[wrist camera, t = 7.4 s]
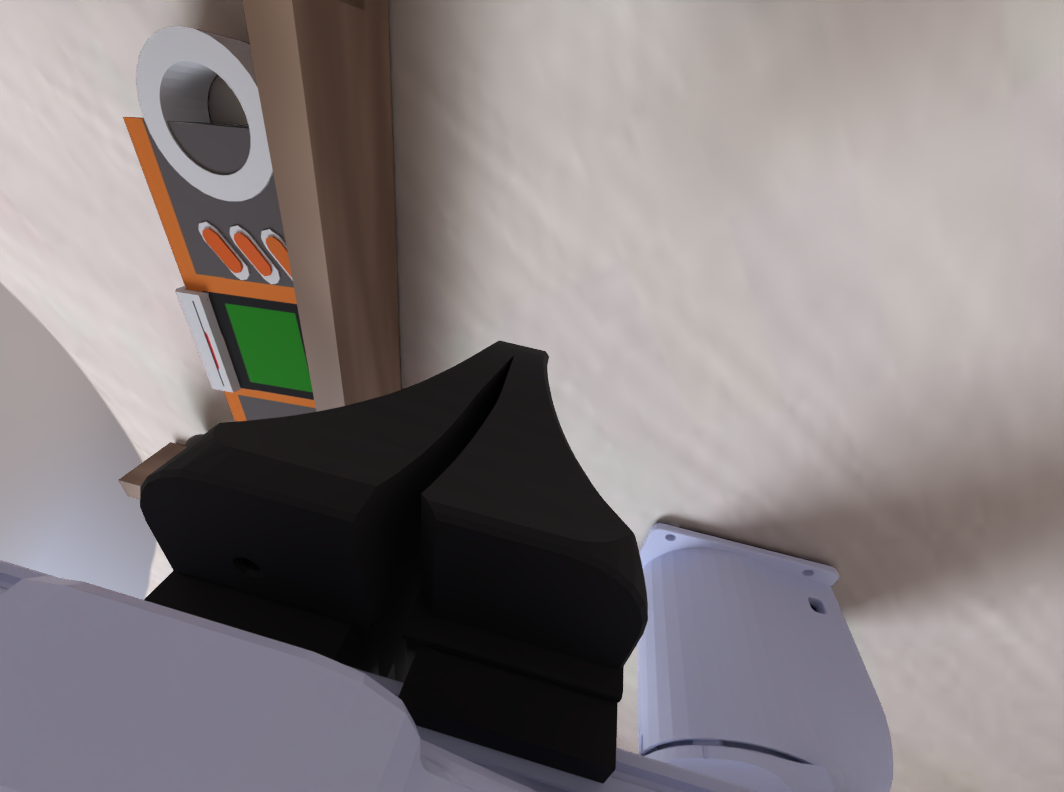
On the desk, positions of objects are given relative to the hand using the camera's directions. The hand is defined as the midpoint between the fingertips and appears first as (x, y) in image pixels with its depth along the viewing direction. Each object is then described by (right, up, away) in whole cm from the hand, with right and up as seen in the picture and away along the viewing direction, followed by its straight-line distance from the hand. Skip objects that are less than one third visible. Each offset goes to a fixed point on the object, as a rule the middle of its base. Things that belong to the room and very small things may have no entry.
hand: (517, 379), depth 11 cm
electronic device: (-10, +5, +7) cm, 14 cm away
